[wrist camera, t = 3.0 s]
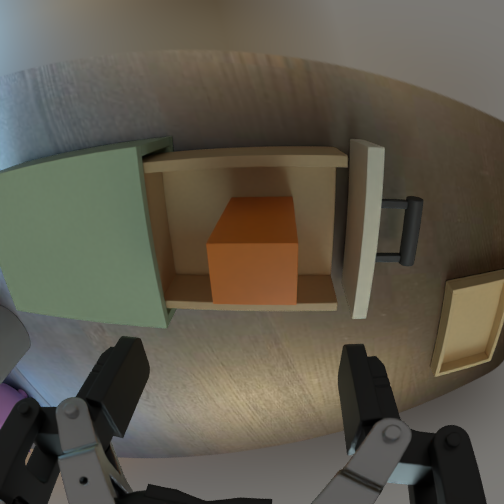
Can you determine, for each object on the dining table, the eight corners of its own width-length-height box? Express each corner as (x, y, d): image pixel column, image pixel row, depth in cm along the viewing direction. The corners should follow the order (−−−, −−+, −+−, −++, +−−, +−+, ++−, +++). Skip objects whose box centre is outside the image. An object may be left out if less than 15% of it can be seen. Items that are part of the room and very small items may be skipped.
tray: (446, 280, 30) (453, 290, 28) (506, 268, 28) (515, 276, 26) (429, 366, 35) (434, 377, 33) (485, 351, 33) (490, 360, 32)
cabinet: (172, 135, 26) (136, 146, 19) (189, 282, 32) (167, 328, 25) (24, 161, 28) (-23, 179, 21) (52, 277, 34) (16, 310, 27)
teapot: (39, 387, 46) (10, 432, 35) (69, 430, 52) (47, 472, 41) (-16, 367, 48) (-43, 401, 37) (12, 408, 54) (-10, 442, 43)
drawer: (409, 143, 24) (439, 152, 18) (393, 281, 29) (412, 316, 24) (155, 145, 26) (126, 155, 20) (174, 281, 31) (155, 315, 26)
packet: (292, 196, 25) (298, 242, 17) (292, 241, 27) (296, 305, 19) (231, 197, 26) (205, 243, 17) (234, 242, 28) (212, 304, 19)
